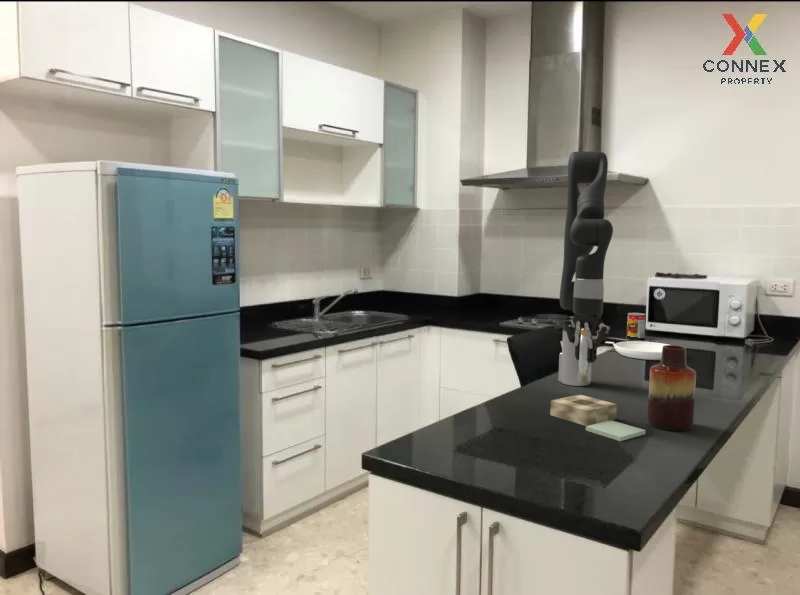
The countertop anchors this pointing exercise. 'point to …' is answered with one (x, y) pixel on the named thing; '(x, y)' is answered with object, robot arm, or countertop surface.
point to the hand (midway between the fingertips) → (585, 360)
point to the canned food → (636, 325)
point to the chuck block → (583, 410)
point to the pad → (615, 430)
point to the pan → (639, 349)
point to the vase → (671, 391)
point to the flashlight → (584, 358)
